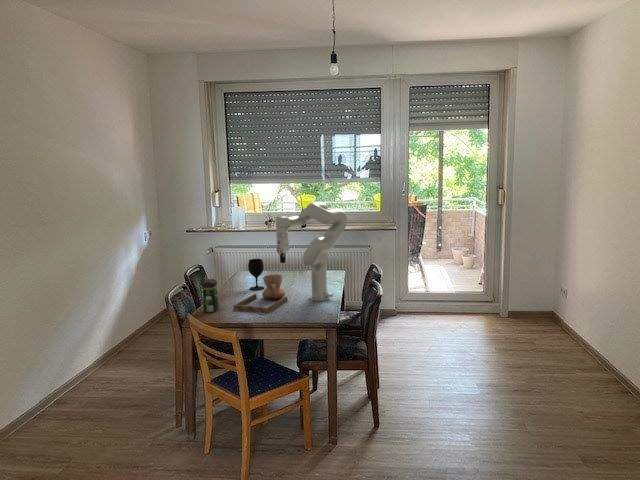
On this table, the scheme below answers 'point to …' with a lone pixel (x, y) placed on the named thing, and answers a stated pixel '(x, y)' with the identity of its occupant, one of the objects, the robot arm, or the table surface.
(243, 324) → the table surface
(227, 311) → the table surface
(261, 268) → the wine glass
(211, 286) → the coffee jar
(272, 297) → the ceramic jug
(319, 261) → the robot arm
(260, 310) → the walnut bay
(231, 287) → the table surface
